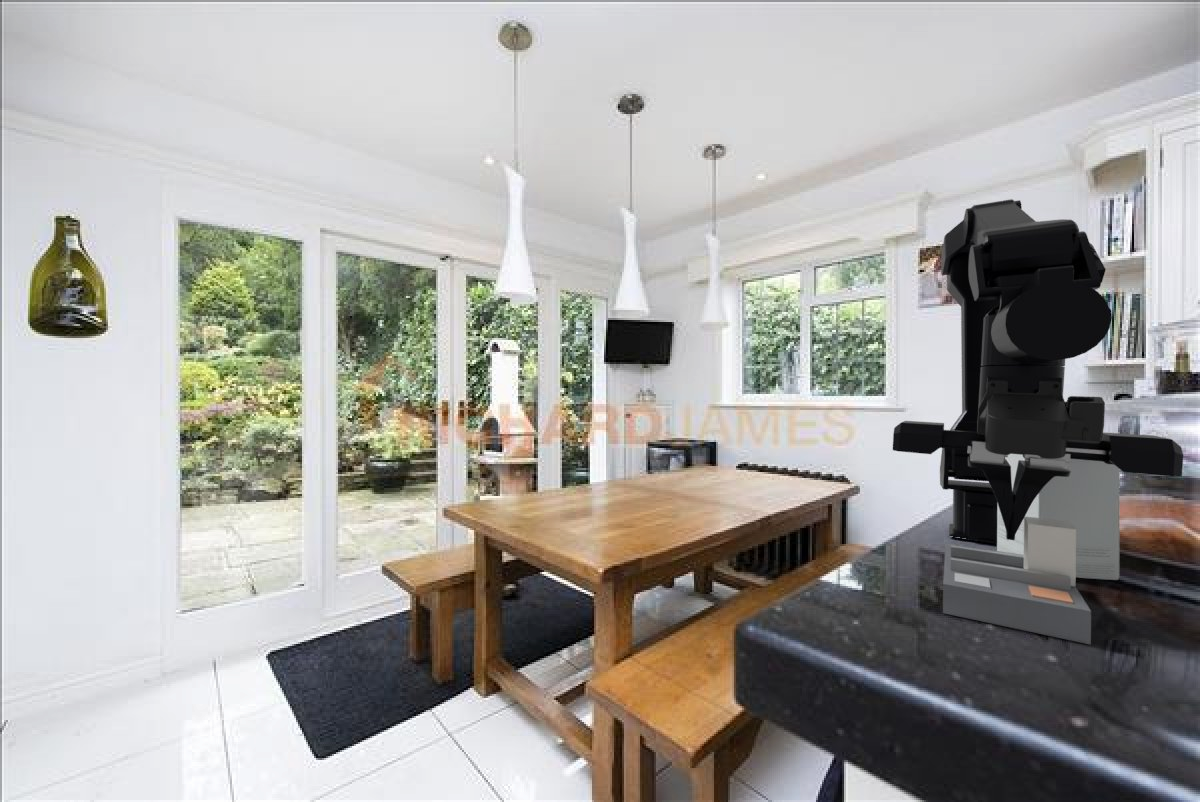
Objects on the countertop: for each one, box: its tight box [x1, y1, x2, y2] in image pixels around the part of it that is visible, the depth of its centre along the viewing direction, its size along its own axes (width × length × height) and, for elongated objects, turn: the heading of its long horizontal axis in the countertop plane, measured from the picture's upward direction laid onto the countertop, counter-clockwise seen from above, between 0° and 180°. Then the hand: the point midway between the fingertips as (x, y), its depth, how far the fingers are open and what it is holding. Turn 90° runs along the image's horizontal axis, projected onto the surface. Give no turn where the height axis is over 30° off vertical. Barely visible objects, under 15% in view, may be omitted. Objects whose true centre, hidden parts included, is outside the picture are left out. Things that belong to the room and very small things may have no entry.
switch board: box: [942, 543, 1092, 646], centre depth 45 cm, size 14×9×4 cm, turn 144°
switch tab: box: [1024, 517, 1077, 587], centre depth 43 cm, size 3×3×5 cm
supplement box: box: [996, 454, 1121, 581], centre depth 53 cm, size 7×7×13 cm
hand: (1010, 539), depth 44 cm, fingers closed
